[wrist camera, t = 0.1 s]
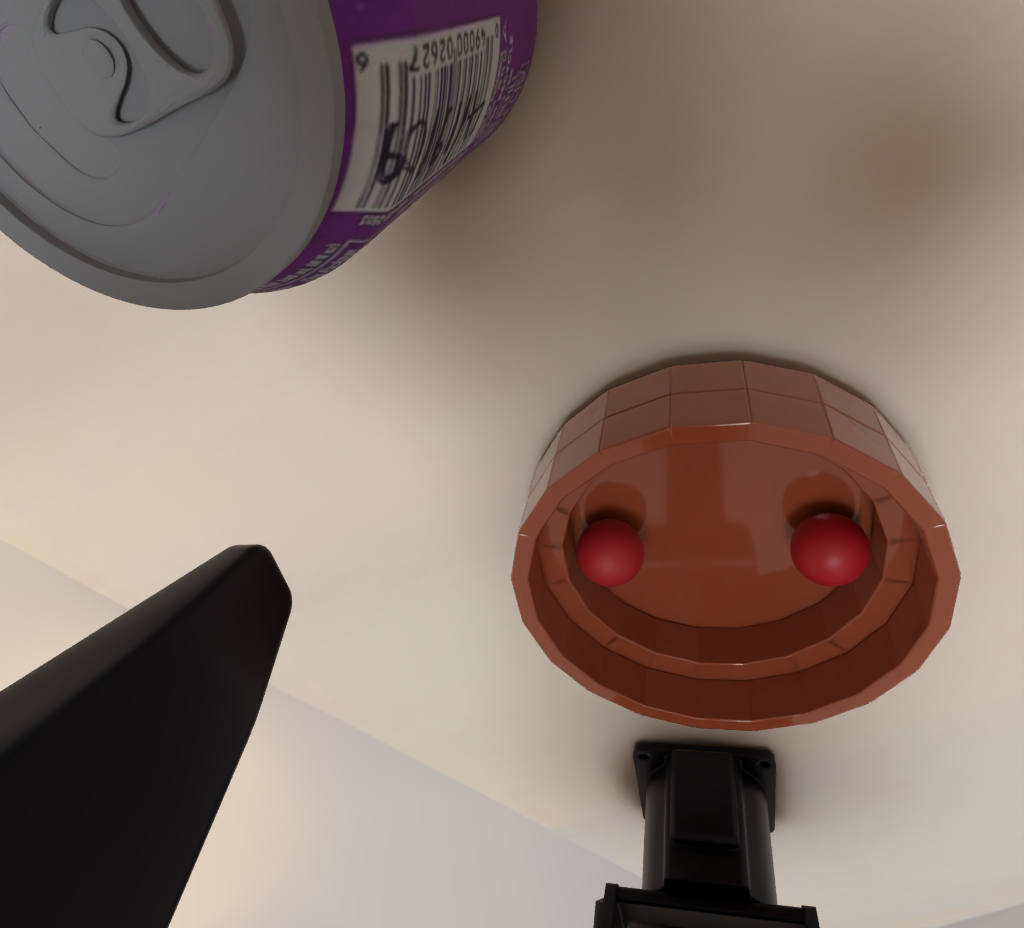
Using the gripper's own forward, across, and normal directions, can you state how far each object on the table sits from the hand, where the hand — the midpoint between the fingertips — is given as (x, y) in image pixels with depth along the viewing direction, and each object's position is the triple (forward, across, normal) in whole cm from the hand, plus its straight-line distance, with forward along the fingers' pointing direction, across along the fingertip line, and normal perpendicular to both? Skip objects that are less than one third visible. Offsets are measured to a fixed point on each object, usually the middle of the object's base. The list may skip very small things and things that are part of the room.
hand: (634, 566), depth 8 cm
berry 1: (+13, +3, +11) cm, 17 cm away
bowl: (+15, -1, +11) cm, 19 cm away
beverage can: (+15, +6, -6) cm, 17 cm away
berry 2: (+13, -5, +11) cm, 18 cm away
